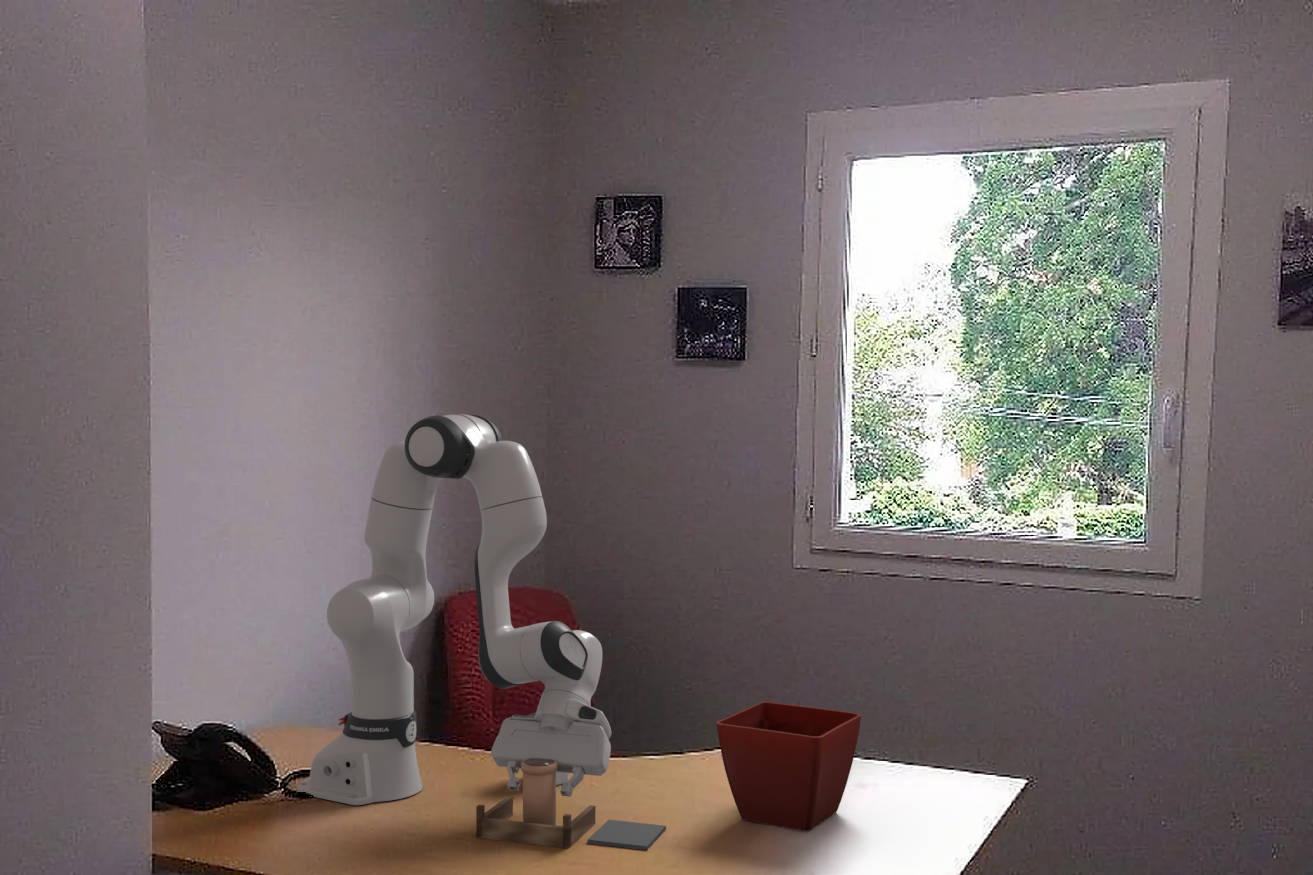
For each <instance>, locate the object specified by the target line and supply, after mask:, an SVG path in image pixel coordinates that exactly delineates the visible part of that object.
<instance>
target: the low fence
mask: <svg viewBox="0 0 1313 875" xmlns="http://www.w3.org/2000/svg"><path fill="white" fill-rule="evenodd" d="M485 806H486V805H485V804H478V805H476V807H475V808H476V810H475V811H476V812H475V813H476V814H475V816H476V819H475V820H476V821H475V823H476V824H475V825H476V826H475V827H476V829H475V830H476V832H475V833H476V834H475V835H476V837H475V838H480V839H488V840H495V841H496V840H497V841H504V842H505V841H506V842H512V843H513V842H514V843H522V844H530V845H537V846H539V845H540V846H548V847H556V848H564V849H569V848H571V847H572V846H573V845H574V844H575V843H576V842H577V841H578V840H580V839H581V838H582V837H583V836H584V835H585V834H586V833H587V832H588V831H589V830H591V828H593V827H594V826H595V825H596V805H592V804H591V805H588V806H587V807H586V808H585V809H584V810H583V811H581V812H580V813H579V814H578V815H577V816H576V817H574V818H573V819H572V814H568V813H564V815H562V825H557V824H556V825H547V824H539V823H530V822H523V821H519V820H510V819H509V818H510V817H512V816H513V815H514V797H513V796H506V797H505V798H504V799H502V800H501V801H499V802H498V803H496V804H495V805H494V806H492V807H490V809H488V810H485V809H486V807H485Z"/></svg>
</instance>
